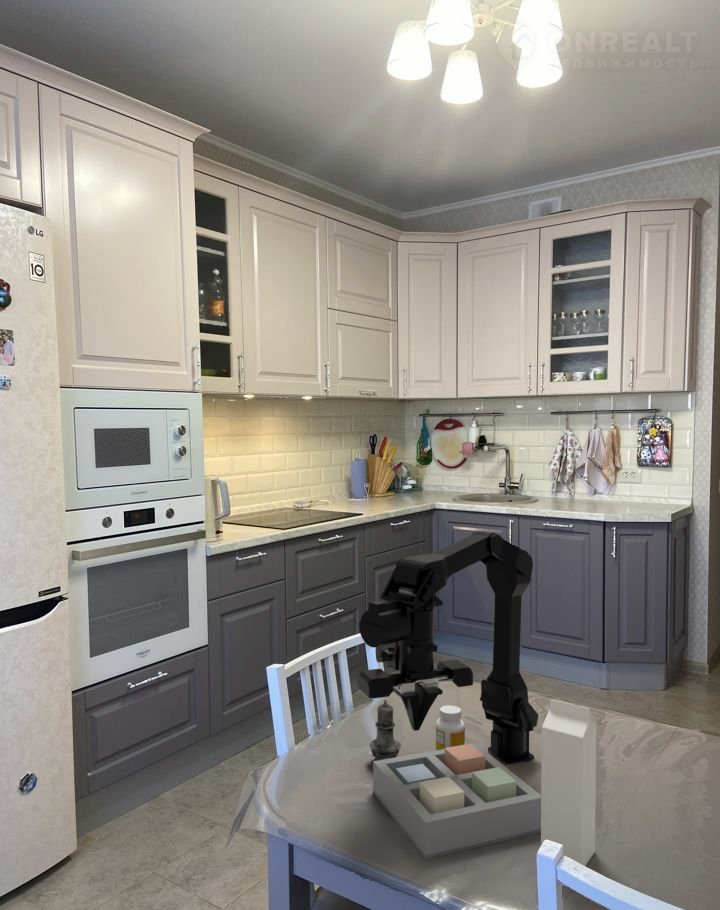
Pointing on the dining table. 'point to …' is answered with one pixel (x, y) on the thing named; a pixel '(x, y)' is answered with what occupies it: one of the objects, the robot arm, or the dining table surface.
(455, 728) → the supplement bottle
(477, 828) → the keypad
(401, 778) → the key slate
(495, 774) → the key sage
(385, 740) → the grey chess piece
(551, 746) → the milk
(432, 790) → the key cream
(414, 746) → the dining table surface
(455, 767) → the key terracotta
